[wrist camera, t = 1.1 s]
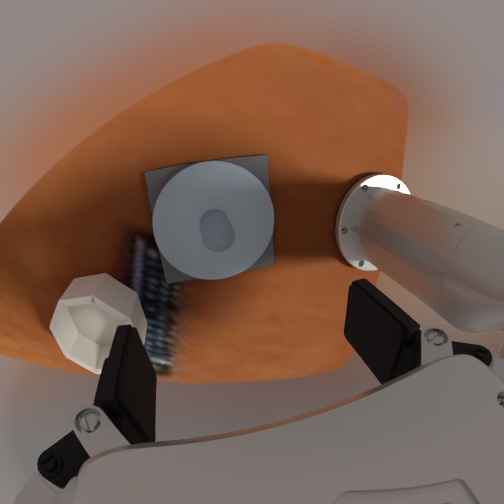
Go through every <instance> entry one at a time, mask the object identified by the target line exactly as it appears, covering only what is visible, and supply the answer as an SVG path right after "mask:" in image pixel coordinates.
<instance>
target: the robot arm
mask: <svg viewBox="0 0 504 504" xmlns="http://www.w3.org/2000/svg"><path fill="white" fill-rule="evenodd" d="M335 235H336V242H337V245H338V249H339V251H340V252H341V254H342V256H343V257H344V258H345V259H346V261H347V262H349V263H350V264H351V265H352V266H354V267H356V268H357V269H360V270H365V271H373V270H377V269H379V270H380V271H382V272H383V273H384V274H386V275H387V276H389V277H390V278H391V279H393V280H394V281H396V282H397V283H398V284H399V285H401V286H402V287H403V288H405V289H406V290H407V291H408V292H410V293H411V294H413V295H414V296H415V297H416V298H418V299H419V300H420V301H421V302H423V303H424V304H425V305H427V306H428V307H429V308H430V309H432V310H433V311H434V312H435V313H436V314H438V315H439V316H440V317H441V318H443V319H444V320H445V321H447V322H448V323H449V324H450V325H452V326H453V327H455V328H456V329H458V330H460V331H463V332H466V333H480V332H486V331H491V330H503V331H504V230H503V229H501V228H498V227H496V226H493V225H492V224H489V223H487V222H484V221H482V220H480V219H477V218H475V217H472V216H470V215H467V214H465V213H462V212H460V211H457V210H454V209H451V208H449V207H446V206H443V205H440V204H438V203H435V202H432V201H429V200H426V199H423V198H420V197H417V196H414V195H411V194H410V193H409V191H408V189H407V187H406V186H405V185H404V184H403V183H402V182H401V181H400V180H398V179H397V178H395V177H393V176H390V175H386V174H373V175H369V176H366V177H364V178H363V179H361V180H359V181H358V182H357V183H356V184H354V185H353V186H352V187H351V189H350V190H349V191H348V192H347V194H346V195H345V197H344V199H343V201H342V202H341V205H340V208H339V210H338V214H337V218H336V226H335ZM419 328H420V325H419V324H418V323H417V322H416V321H414V320H413V319H412V318H411V317H410V316H409V315H408V314H407V313H405V312H404V311H403V310H402V309H401V308H400V307H398V306H397V305H396V304H395V303H394V302H393V301H391V300H390V299H389V298H388V297H387V296H386V295H384V294H383V293H382V292H381V291H380V290H378V289H377V288H376V287H375V286H374V285H372V284H371V283H370V282H369V281H368V280H366V279H360V280H356V281H353V282H352V285H350V286H349V293H348V302H347V311H346V319H345V327H344V335H345V338H346V339H347V340H348V342H349V343H350V344H351V345H352V347H353V348H354V349H355V351H356V352H357V353H358V354H359V356H360V357H361V358H362V360H363V361H364V362H365V363H366V365H367V366H368V367H369V368H370V370H371V371H372V372H373V374H374V375H375V376H376V378H377V379H378V380H379V382H380V383H381V384H382V385H380V386H378V387H375V388H373V389H371V390H368V391H366V392H364V393H361V394H359V395H357V396H354V397H351V398H349V399H346V400H344V401H341V402H338V403H336V404H333V405H330V406H327V407H324V408H322V409H318V410H315V411H312V412H309V413H306V414H303V415H299V416H296V417H293V418H289V419H286V420H282V421H278V422H274V423H270V424H266V425H262V426H259V427H254V428H249V429H244V430H240V431H235V432H229V433H223V434H217V435H210V436H204V437H196V438H189V439H180V440H170V441H160V442H159V441H158V442H155V411H156V381H157V378H156V373H155V370H154V368H153V366H152V363H151V361H150V359H149V357H148V354H147V352H146V350H145V347H144V345H143V343H142V340H141V338H140V335H139V333H138V330H137V328H136V327H132V325H131V324H128V325H120V326H117V329H116V332H115V335H114V339H113V342H112V346H111V349H110V353H109V357H108V358H106V359H105V360H104V363H103V367H102V371H101V374H100V379H99V383H98V387H97V391H96V396H95V400H94V404H93V405H88V406H84V407H82V408H80V409H79V410H77V411H76V412H75V414H74V415H73V417H72V420H71V426H72V429H73V430H72V431H71V432H70V433H68V434H67V435H66V436H64V437H63V438H62V439H60V440H59V441H58V442H57V443H55V444H54V445H52V446H51V447H49V448H48V449H47V450H45V451H44V452H43V453H42V454H41V455H40V457H39V459H38V463H37V466H38V470H39V472H38V473H37V474H36V473H33V474H32V476H31V477H30V478H29V480H28V481H27V483H26V484H25V485H24V487H23V488H22V490H21V491H20V492H19V494H18V495H17V497H16V498H15V501H14V504H504V342H503V344H502V346H501V348H500V351H499V353H498V355H497V356H495V357H494V358H492V355H491V353H490V351H489V350H488V349H487V348H485V347H483V346H480V345H475V344H467V343H461V342H454V341H451V337H450V335H449V333H448V332H447V331H445V330H444V329H442V328H440V327H436V326H430V327H426V328H425V329H423V331H421V330H420V329H419Z"/></svg>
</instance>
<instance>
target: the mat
mask: <svg viewBox="0 0 504 504" xmlns="http://www.w3.org/2000/svg"><path fill="white" fill-rule="evenodd" d="M211 161H223V162H228V163H232V164H234V165H237V166H240V167H242V168H244V169H246V170H247V171H249V172H250V173H252V174H253V175H254V176H255V177H256V178H257V179H258V180H259V181H260V182H261V183H262V184H263V186H264V187H265V189H266V190H267V192H268V194H269V196H270V186H269V173H268V161H267V155H256V156H245V157H236V158H227V159H219V160H211ZM204 162H206V161H204ZM197 163H201V162H197ZM197 163H190V164H184V165H178V166H172V167H166V168H161V169H155V170H150V171H145V179H146V185H147V191H148V197H149V203H150V208H151V214H152V219H153V212H154V208H155V204H156V201H157V199H158V197H159V195H160V193H161V191H162V190H163V188H164V187H165V185H166V184H167V183H168V182H169V181H170V179H172V178H173V177H174V176H175V175H176V174H177V173H179V172H180V171H182V170H183V169H185V168H187V167H189V166H191V165H194V164H197ZM159 253H160V257H161V261H162V266H163V270H164V274H165V278H166V282H167V284H169V283H175V282H181V281H187V280H193V279H199V278H195V277H192V276H189V275H187V274H185V273H183V272H181V271H179V270H178V269H176V268H175V267H174V266H172V265H171V264H170V263H169V262H168V261H167V260H166V258H165V257H164V256H163V255H162V253H161V251H160V250H159ZM273 265H275V262H274V245H273V233H272V236H271V239H270V242H269V244H268V246H267V248H266V249H265V251H264V252H263V254H262V255H261V257H260V258H259V259H258V260H257V261H256V262H255V263H254V264H253V265H251V266H250V267H249V268H247V269H246V270H251V269H256V268H262V267H267V266H273ZM244 271H245V270H244Z"/></svg>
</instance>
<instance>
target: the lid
mask: <svg viewBox="0 0 504 504" xmlns="http://www.w3.org/2000/svg"><path fill="white" fill-rule="evenodd" d="M273 228H274V210H273V205H272V201H271V198H270V196H269V194H268V192H267V190H266V189H265V187H264V186H263V184H262V183H261V182H260V181H259V180H258V179H257V178H256V177H255V176H254V175H253V174H252V173H250V172H249V171H247V170H246V169H244V168H242V167H240V166H237V165H234V164H232V163H228V162H223V161H206V162H201V163H197V164H194V165H191V166H189V167H187V168H185V169H183V170H182V171H180V172H179V173H177V174H176V175H175V176H174V177H173V178H172V179H170V181H169V182H168V183H167V184H166V185H165V187H164V188H163V190H162V191H161V193H160V195H159V197H158V199H157V201H156V204H155V208H154V212H153V233H154V237H155V240H156V243H157V245H158V248H159V250H160V251H161V253H162V255H163V256H164V257H165V258H166V260H167V261H168V262H169V263H170V264H171V265H172V266H174V267H175V268H176V269H178V270H179V271H181V272H183V273H185V274H187V275H189V276H192V277H195V278H199V279H206V280H216V279H224V278H228V277H231V276H234V275H237V274H239V273H241V272H243V271H244V270H246V269H247V268H249V267H250V266H251V265H253V264H254V263H255V262H256V261H257V260H258V259H259V258H260V257H261V255H262V254H263V252H264V251H265V249H266V248H267V246H268V244H269V242H270V239H271V236H272V233H273Z"/></svg>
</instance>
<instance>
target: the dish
mask: <svg viewBox="0 0 504 504" xmlns="http://www.w3.org/2000/svg"><path fill="white" fill-rule="evenodd" d="M128 324H131V325H132V327H136V328H137V330H138V333H139V335H140V338H141V340H142V343H143V345H144V342H145V335H146V329H147V321H146V318H145V315H144V312H143V309H142V306H141V303H140V300H139V297H138V294H137V292H135V291H133V290H132V289H130V288H128V287H127V286H125V285H124V284H122V283H120V282H119V281H117V280H116V279H114V278H113V277H111V276H110V275H108V274H106V273H102V274H96V275H91V276H85V277H79V278H74V280H73V281H72V282H71V284H70V285H69V286H68V288H67V289H66V291H65V292H64V294H63V295H62V296H61V298H60V299H59V301H58V304H57V306H56V309H55V312H54V315H53V317H52V320H51V323H50V326H49V328H50V330H51V332H52V333H53V335H54V337H55V339H56V341H57V343H58V345H59V346H60V348H61V350H62V352H63V354H64V355H65V357H67V358H68V359H70V360H72V361H74V362H75V363H77V364H79V365H81V366H82V367H84V368H86V369H88V370H90V371H91V372H93V373H95V374H101V371H102V367H103V363H104V360H105V359H106V358H108V357H109V353H110V349H111V346H112V342H113V339H114V335H115V332H116V329H117V326H120V325H128Z"/></svg>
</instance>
